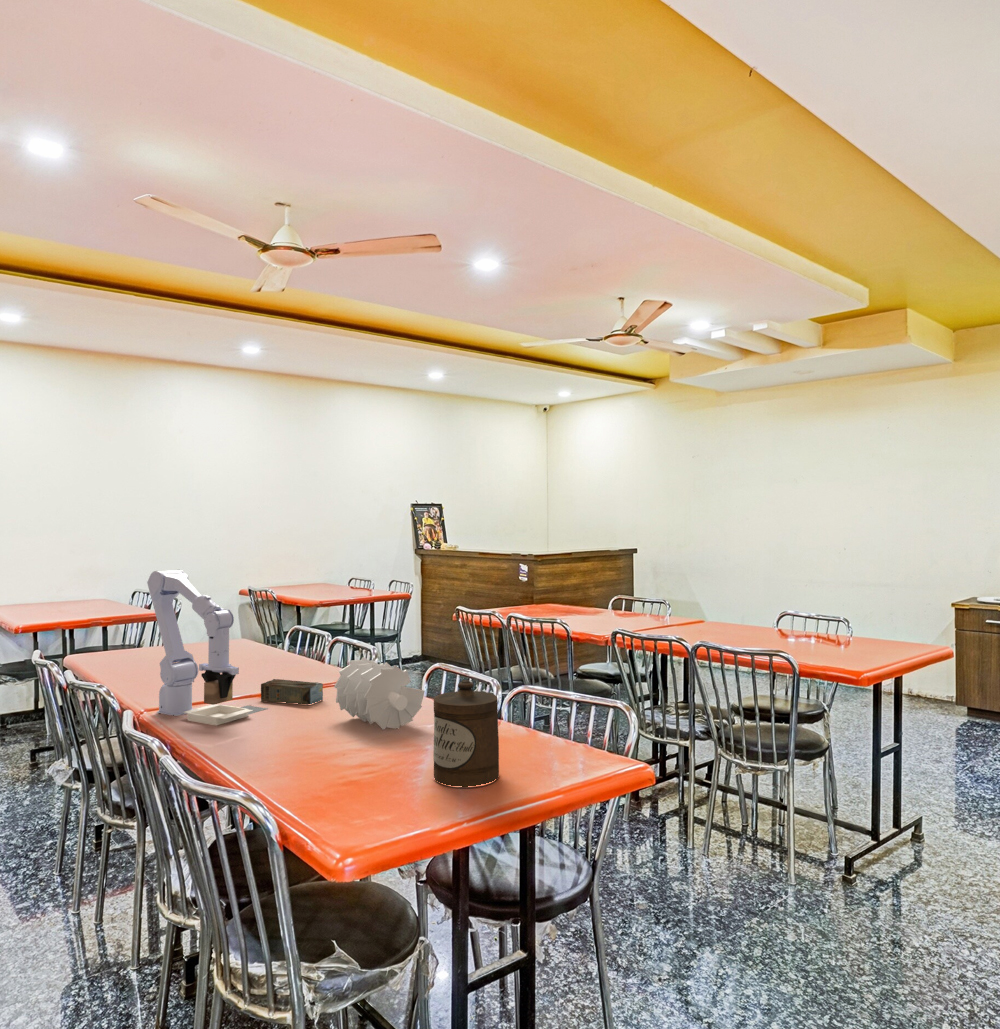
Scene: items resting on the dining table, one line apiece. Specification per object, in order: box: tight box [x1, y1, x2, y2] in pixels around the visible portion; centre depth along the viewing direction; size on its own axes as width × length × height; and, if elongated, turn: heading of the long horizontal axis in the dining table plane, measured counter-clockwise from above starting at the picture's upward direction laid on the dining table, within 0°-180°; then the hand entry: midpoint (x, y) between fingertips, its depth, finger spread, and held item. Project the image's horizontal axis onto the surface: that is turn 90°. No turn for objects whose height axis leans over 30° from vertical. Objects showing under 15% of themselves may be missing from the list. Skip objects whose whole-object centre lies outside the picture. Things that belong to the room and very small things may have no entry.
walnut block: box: [203, 680, 234, 705], centre depth 220 cm, size 7×4×6 cm, turn 152°
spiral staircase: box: [333, 656, 426, 731], centre depth 216 cm, size 18×18×25 cm
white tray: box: [183, 704, 253, 726], centre depth 220 cm, size 17×12×2 cm
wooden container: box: [432, 679, 500, 787], centre depth 169 cm, size 15×15×22 cm
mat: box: [239, 705, 269, 715], centre depth 230 cm, size 9×9×1 cm
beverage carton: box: [260, 678, 324, 705], centre depth 244 cm, size 8×19×7 cm, turn 72°
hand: (218, 696), depth 220 cm, fingers closed on walnut block, 4 cm apart
